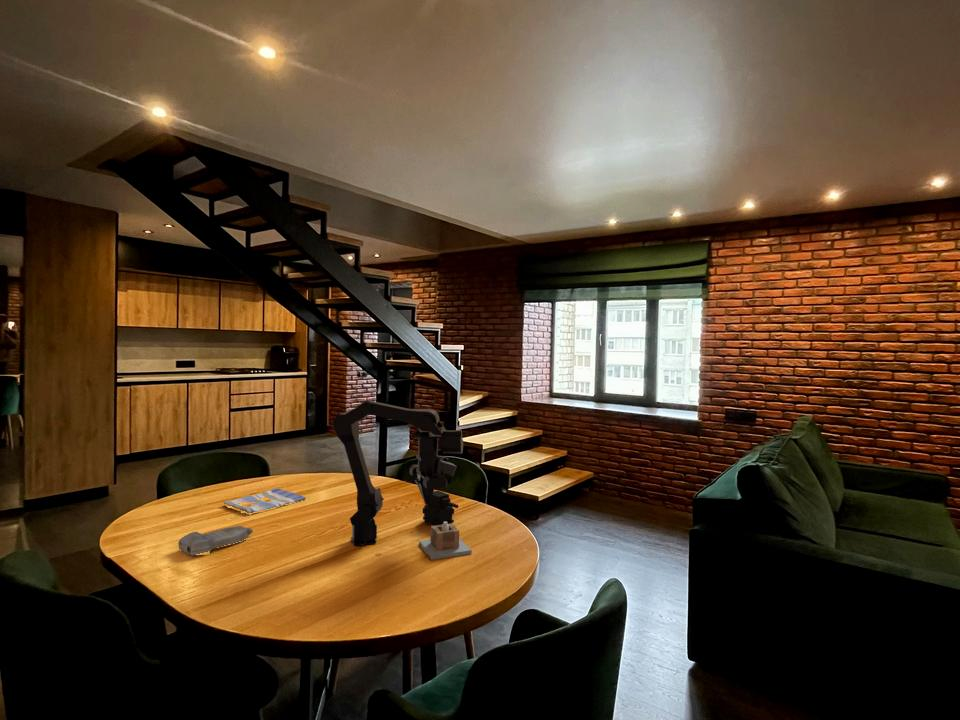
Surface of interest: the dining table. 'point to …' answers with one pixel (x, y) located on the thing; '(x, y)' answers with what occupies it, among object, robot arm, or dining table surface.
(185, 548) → the handheld device
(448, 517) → the toy
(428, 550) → the grey peg base
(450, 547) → the hollow square sleeve
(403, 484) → the dining table surface
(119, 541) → the dining table surface
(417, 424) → the robot arm
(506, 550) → the dining table surface
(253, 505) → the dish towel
